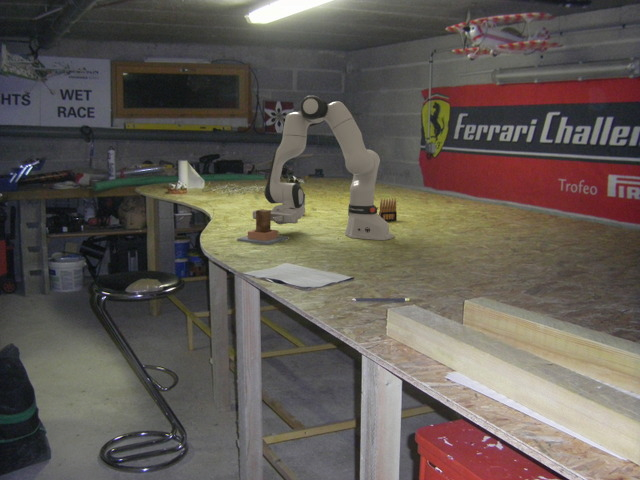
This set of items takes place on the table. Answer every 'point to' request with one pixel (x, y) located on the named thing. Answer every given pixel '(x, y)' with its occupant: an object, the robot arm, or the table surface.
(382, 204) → the ammunition clip
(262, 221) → the wooden post
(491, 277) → the table surface
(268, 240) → the housing
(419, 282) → the table surface
